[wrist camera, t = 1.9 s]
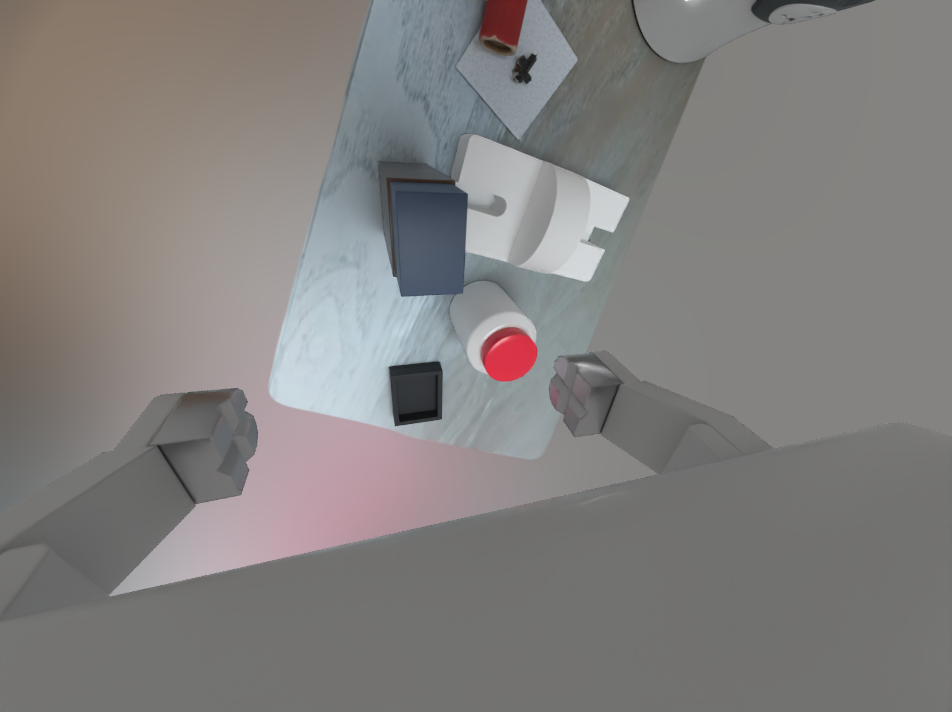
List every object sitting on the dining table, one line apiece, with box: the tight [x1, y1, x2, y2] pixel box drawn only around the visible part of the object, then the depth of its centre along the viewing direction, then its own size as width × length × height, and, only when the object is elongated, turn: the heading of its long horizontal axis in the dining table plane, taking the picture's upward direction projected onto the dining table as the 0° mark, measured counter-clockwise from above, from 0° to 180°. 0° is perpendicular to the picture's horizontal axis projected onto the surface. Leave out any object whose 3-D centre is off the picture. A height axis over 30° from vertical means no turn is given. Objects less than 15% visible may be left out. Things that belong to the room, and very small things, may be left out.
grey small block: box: [455, 0, 578, 140], centre depth 28 cm, size 8×8×2 cm
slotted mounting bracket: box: [450, 134, 629, 282], centre depth 33 cm, size 10×18×9 cm, turn 72°
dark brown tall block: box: [378, 161, 455, 277], centre depth 28 cm, size 6×4×12 cm
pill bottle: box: [449, 281, 537, 381], centre depth 37 cm, size 8×8×11 cm
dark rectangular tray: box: [389, 362, 443, 426], centre depth 45 cm, size 8×6×2 cm
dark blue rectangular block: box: [390, 181, 468, 297], centre depth 22 cm, size 6×4×4 cm, turn 176°
